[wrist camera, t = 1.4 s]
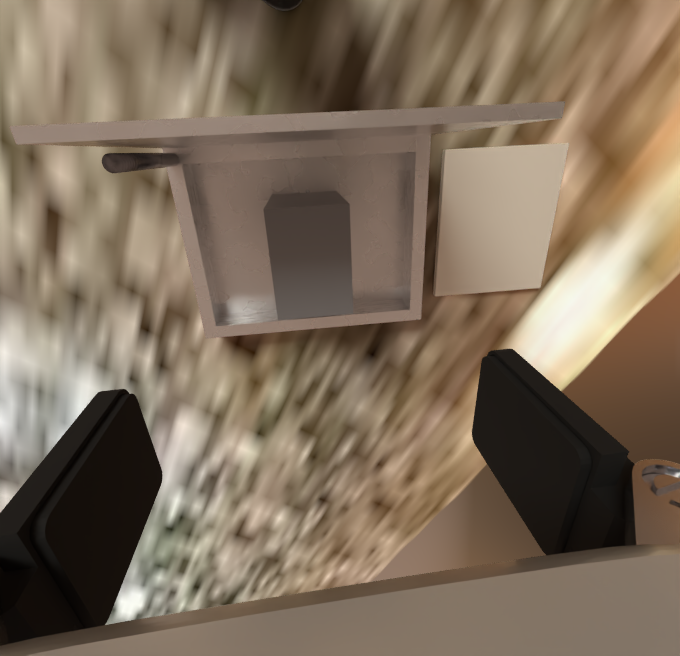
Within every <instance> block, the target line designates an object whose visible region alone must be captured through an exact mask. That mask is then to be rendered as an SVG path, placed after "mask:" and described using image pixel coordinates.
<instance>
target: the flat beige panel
mask: <svg viewBox="0 0 680 656" xmlns="http://www.w3.org/2000/svg"><path fill="white" fill-rule="evenodd" d="M568 146H569V143H558V144H539V145H520V146H501V147H483V148H464V149H445V150H442V165H441V180H440V195H439V210H438V225H437V240H436V255H435V270H434V285H433V295H434V296H435V297H437V296H449V295H461V294H472V293H484V292H496V291H508V290H520V289H532V288H540V287H541V282H542V277H543V272H544V267H545V262H546V257H547V252H548V247H549V242H550V237H551V232H552V227H553V222H554V217H555V212H556V207H557V202H558V197H559V192H560V187H561V182H562V177H563V172H564V167H565V162H566V157H567V151H568Z"/></svg>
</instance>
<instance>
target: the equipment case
mask: <svg viewBox="0 0 680 656" xmlns="http://www.w3.org/2000/svg"><path fill="white" fill-rule="evenodd" d="M564 105H565V102H545V103H522V104H500V105H477V106H454V107H432V108H409V109H386V110H364V111H341V112H318V113H296V114H273V115H250V116H228V117H205V118H182V119H160V120H137V121H114V122H92V123H69V124H46V125H24V126H10V129H11V131H12V134H13V136H14V139H15V142H16V144H24V145H61V146H98V147H136V148H162V149H163V153H108V154H105V155H104V156H103V158H102V164H103V166H104V168H105V169H106V170H107V171H108V172H111V173H120V172H129V171H137V170H146V169H154V168H163V167H167V171H168V175H169V180H170V184H171V188H172V193H173V197H174V201H175V206H176V210H177V214H178V219H179V223H180V227H181V232H182V236H183V240H184V245H185V249H186V253H187V258H188V262H189V267H190V271H191V275H192V280H193V284H194V288H195V293H196V297H197V301H198V306H199V310H200V314H201V319H202V323H203V327H204V332H205V336H206V338H216V337H228V336H239V335H250V334H262V333H273V332H284V331H296V330H307V329H318V328H329V327H341V326H352V325H363V324H375V323H386V322H397V321H408V320H420V319H421V311H422V292H423V273H424V255H425V236H426V217H427V199H428V180H429V161H430V142H431V135H433V134H441V133H449V132H457V131H465V130H473V129H481V128H489V127H497V126H505V125H513V124H521V123H529V122H536V121H544V120H552V119H560V118H562V115H563V110H564ZM326 191H337V192H338V193H339V194H340V195H341V196H342V197H343V198H344V199H345V200H346V201H347V202H348V203H349V204H350V229H351V258H352V288H353V314H344V315H332V316H320V317H309V318H297V319H286V320H278V317H277V309H276V302H275V294H274V287H273V279H272V272H271V264H270V256H269V249H268V241H267V234H266V226H265V218H264V211H263V209H264V207H265V205H266V204H267V202H268V200H269V198H270V197H271V195H276V194H293V193H309V192H326Z"/></svg>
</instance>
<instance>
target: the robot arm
mask: <svg viewBox="0 0 680 656" xmlns="http://www.w3.org/2000/svg"><path fill="white" fill-rule="evenodd" d="M472 437H473V441H474V443H475V445H476V447H477V448H478V450H479V452H480V453H481V455H482V456H483V458H484V459H485V461H486V463H487V464H488V466H489V467H490V469H491V470H492V472H493V474H494V475H495V477H496V478H497V480H498V481H499V483H500V485H501V486H502V488H503V489H504V491H505V493H506V494H507V496H508V497H509V499H510V500H511V502H512V503H513V505H514V507H515V508H516V510H517V511H518V513H519V515H520V516H521V518H522V519H523V521H524V522H525V524H526V526H527V527H528V529H529V530H530V532H531V533H532V535H533V537H534V538H535V540H536V541H537V543H538V544H539V546H540V548H541V549H542V551H543V552H544V553H545V554H546V556H540V557H539V556H538V557H531V558H526V559H519V560H512V561H505V562H498V563H493V564H485V565H479V566H472V567H465V568H459V569H453V570H445V571H440V572H432V573H426V574H419V575H413V576H406V577H400V578H394V579H387V580H381V581H374V582H368V583H361V584H355V585H349V586H342V587H336V588H330V589H323V590H317V591H311V592H304V593H298V594H292V595H285V596H279V597H273V598H266V599H260V600H254V601H248V602H242V603H236V604H229V605H223V606H217V607H211V608H205V609H199V610H193V611H186V612H180V613H174V614H168V615H162V616H156V617H150V618H144V619H137V620H131V621H126V622H120V623H114V624H109V625H105V624H106V622H107V620H108V618H109V616H110V614H111V611H112V608H113V606H114V603H115V601H116V598H117V596H118V593H119V591H120V588H121V585H122V583H123V580H124V578H125V575H126V573H127V570H128V568H129V565H130V563H131V560H132V557H133V555H134V552H135V550H136V547H137V545H138V542H139V540H140V537H141V534H142V532H143V529H144V527H145V524H146V522H147V519H148V517H149V514H150V512H151V509H152V506H153V504H154V501H155V499H156V496H157V494H158V491H159V489H160V486H161V483H162V470H161V467H160V464H159V461H158V458H157V455H156V452H155V449H154V446H153V444H152V441H151V438H150V435H149V432H148V429H147V426H146V423H145V421H144V418H143V415H142V412H141V409H140V406H139V403H138V400H137V398H136V396H135V395H134V394H129V392H128V391H127V390H125V389H119V390H110V391H101V392H98V393H97V394H96V395H95V397H94V398H93V399H92V400H91V402H90V403H89V404H88V405H87V407H86V408H85V409H84V410H83V411H82V413H81V414H80V415H79V416H78V418H77V419H76V420H75V421H74V423H73V424H72V425H71V426H70V428H69V429H68V430H67V431H66V432H65V434H64V435H63V436H62V437H61V439H60V440H59V441H58V442H57V444H56V445H55V446H54V447H53V449H52V450H51V451H50V452H49V454H48V455H47V456H46V457H45V458H44V460H43V461H42V462H41V463H40V465H39V466H38V467H37V468H36V470H35V471H34V472H33V473H32V475H31V476H30V477H29V478H28V479H27V481H26V482H25V483H24V484H23V486H22V487H21V488H20V489H19V491H18V492H17V493H16V494H15V496H14V497H13V498H12V499H11V500H10V502H9V503H8V504H7V505H6V507H5V508H4V509H3V510H2V512H1V513H0V656H680V465H679V464H676V463H673V462H669V461H664V460H657V459H647V460H643V461H639V462H638V463H636V464H634V463H633V462H631V461H630V460H629V459H628V458H627V455H628V453H629V451H628V450H627V449H626V448H624V446H622V445H621V444H620V443H619V442H618V441H617V440H616V439H614V438H613V437H612V436H611V435H610V434H609V433H608V432H607V431H605V430H604V429H603V428H602V427H601V426H600V425H598V424H597V423H596V422H595V421H594V420H593V419H592V418H591V417H589V416H588V415H587V414H586V413H585V412H584V411H583V410H581V409H580V408H579V407H578V406H577V405H576V404H575V403H574V402H572V401H571V400H570V399H569V398H568V397H567V396H565V395H564V394H563V393H562V392H561V391H560V390H559V389H558V388H556V387H555V386H554V385H553V384H552V383H551V382H550V381H548V380H547V379H546V378H545V377H544V376H543V375H542V374H540V373H539V372H538V371H537V370H536V369H535V368H534V367H533V366H531V365H530V364H529V363H528V362H527V361H526V360H525V359H523V358H522V357H521V356H520V355H519V354H518V353H517V352H515V351H514V350H513V349H503V350H494V351H490V352H489V353H488V355H487V356H486V357H483V359H482V363H481V370H480V377H479V385H478V392H477V399H476V407H475V414H474V421H473V429H472Z"/></svg>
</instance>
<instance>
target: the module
mask: <svg viewBox="0 0 680 656" xmlns="http://www.w3.org/2000/svg"><path fill="white" fill-rule="evenodd" d="M263 211H264V218H265V226H266V234H267V241H268V249H269V256H270V264H271V272H272V279H273V287H274V294H275V302H276V309H277V317H278V320H286V319H297V318H309V317H320V316H332V315H344V314H353V288H352V258H351V229H350V204H349V203H348V202H347V201H346V200H345V199H344V198H343V197H342V196H341V195H340V194H339V193H338V192H337V191H326V192H309V193H293V194H276V195H271V197H270V198H269V200H268V202H267V204H266V205H265V207H264V209H263Z"/></svg>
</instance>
